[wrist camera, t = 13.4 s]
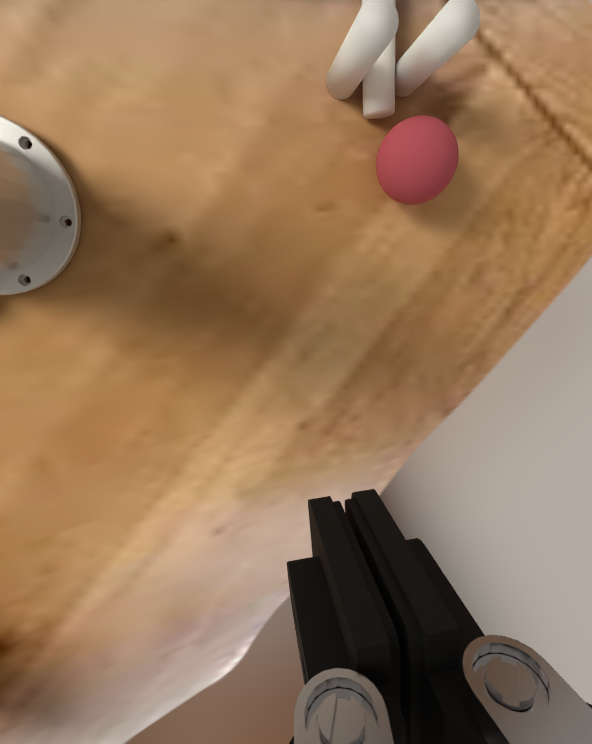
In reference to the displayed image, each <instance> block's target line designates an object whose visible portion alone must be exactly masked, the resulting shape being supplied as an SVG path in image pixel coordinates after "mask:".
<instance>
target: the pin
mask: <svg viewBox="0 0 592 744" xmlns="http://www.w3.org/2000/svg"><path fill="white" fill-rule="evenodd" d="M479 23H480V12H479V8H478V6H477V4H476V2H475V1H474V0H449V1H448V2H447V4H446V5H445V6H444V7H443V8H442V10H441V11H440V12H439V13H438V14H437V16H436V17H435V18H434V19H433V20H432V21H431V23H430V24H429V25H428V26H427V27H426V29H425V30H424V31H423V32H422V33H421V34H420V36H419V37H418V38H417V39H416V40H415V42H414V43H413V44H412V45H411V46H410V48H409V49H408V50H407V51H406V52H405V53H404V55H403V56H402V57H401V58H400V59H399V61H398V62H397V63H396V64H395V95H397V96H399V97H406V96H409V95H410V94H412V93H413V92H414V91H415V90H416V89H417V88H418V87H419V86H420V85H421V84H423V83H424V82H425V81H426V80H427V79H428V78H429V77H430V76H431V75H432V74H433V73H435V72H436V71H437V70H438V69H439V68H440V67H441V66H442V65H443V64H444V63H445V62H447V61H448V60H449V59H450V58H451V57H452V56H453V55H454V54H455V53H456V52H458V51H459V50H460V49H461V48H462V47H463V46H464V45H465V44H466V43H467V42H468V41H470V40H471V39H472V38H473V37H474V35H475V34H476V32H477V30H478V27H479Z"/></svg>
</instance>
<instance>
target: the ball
mask: <svg viewBox="0 0 592 744" xmlns="http://www.w3.org/2000/svg"><path fill="white" fill-rule="evenodd" d="M457 163H458V145H457V141H456V138H455V136H454V134H453V132H452V130H451V129H450V128H449V127H448V126H447V125H446V124H445V123H444V122H443V121H441V120H440V119H438V118H435V117H432V116H427V115H419V116H413V117H410V118H407V119H405V120H403V121H401V122H400V123H398V124H397V125H396V126H394V127H393V128H392V129H391V130H390V131H389V133H388V134H387V135H386V136H385V138H384V140H383V141H382V143H381V145H380V148H379V151H378V155H377V161H376V170H377V176H378V180H379V182H380V185H381V186H382V188H383V190H384V191H385V192H386V193H387V194H388V195H389V196H390V197H391V198H393V199H394V200H396V201H398V202H401V203H405V204H419V203H423V202H426V201H428V200H431V199H432V198H434V197H436V196H437V195H438V194H440V193H441V192H442V191H443V190H444V189H445V188H446V186H447V185H448V184H449V182H450V181H451V179H452V177H453V175H454V173H455V170H456V167H457Z"/></svg>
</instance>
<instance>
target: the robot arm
mask: <svg viewBox="0 0 592 744" xmlns="http://www.w3.org/2000/svg"><path fill="white" fill-rule="evenodd" d="M29 143H32V147H31V149H29V148H28V144H29ZM69 219H70V220H71V221H72V225H71V226H68V224H67V220H69ZM80 232H81V210H80V205H79V200H78V195H77V193H76V190H75V188H74V185H73V182H72V180H71V178H70V176H69V174H68V173H67V171H66V169H65V168H64V166H63V164H62V163H61V161H60V160H59V159H58V158H57V157H56V155H55V154H54V153H53V152H52V151H51V150H50V148H49V147H48V146H47V145H45V144H44V143H43V142H42V141H41V140H40V139H39V138H37V137H36V136H35V135H34V134H32V133H31V132H29V131H28V130H26V129H25V128H23V127H22V126H20V125H18V124H16V123H15V122H13V121H11V120H9V119H7V118H5V117H3V116H1V115H0V295H13V294H19V293H25V292H28V291H31V290H34V289H37V288H40V287H42V286H43V285H45V284H47V283H49V282H50V281H52V280H53V279H54V278H56V277H57V276H58V275H59V274H60V273H61V272H62V271H63V270H64V269H65V268H66V266H67V265H68V263H69V262H70V261H71V259H72V258H73V255H74V253H75V251H76V248H77V246H78V242H79V237H80ZM28 276H29V277H30V280H31V282H30V283H29V282H28V281H27V277H28ZM308 508H309V519H310V531H311V542H312V553H313V557H311V558H305V559H300V560H294V561H289V562H287V570H288V579H289V588H290V596H291V603H292V610H293V617H294V623H295V630H296V636H297V642H298V648H299V653H300V660H301V666H302V671H303V677H304V684H305V686H304V687H303V689H302V691H301V693H300V695H299V697H298V699H297V702H296V708H295V715H294V736H293V738H292V740H291V741H290V743H289V744H592V705H590V704H588V703H586V702H585V701H584V700H583V699H582V698H581V697H580V696H579V695H578V694H577V693H576V692H575V691H574V690H573V689H572V688H571V687H570V685H569V684H567V682H566V681H565V680H564V679H563V678H562V677H561V676H560V675H559V674H558V673H557V672H556V671H555V670H554V669H553V668H552V667H551V665H550V664H549V663H547V661H546V660H545V659H544V658H542V657H541V656H540V655H539V654H538V653H537V652H536V651H534V650H533V649H532V648H530V647H528V646H527V645H525V644H523V643H521V642H519V641H518V640H514V639H512V638H509V637H506V636H498V635H487V636H485V635H484V634H483V632H482V631H481V629H480V628H479V626H478V625H477V623H476V622H475V620H474V619H473V617H472V616H471V614H470V613H469V611H468V610H467V608H466V607H465V606H464V604H463V602H462V601H461V599H460V598H459V596H458V595H457V593H456V592H455V590H454V589H453V587H452V586H451V584H450V583H449V581H448V580H447V578H446V577H445V575H444V574H443V572H442V571H441V569H440V567H439V566H438V564H437V563H436V561H435V560H434V559H433V557H432V555H431V554H430V552H429V551H428V549H427V548H426V546H425V545H424V544H423V542H422V541H421V540H420V539H418V538H415V539H410V540H405V538H404V536H403V535H402V533H401V531H400V530H399V528H398V526H397V525H396V523H395V522H394V520H393V518H392V517H391V515H390V513H389V512H388V510H387V509H386V507H385V505H384V503H383V502H382V500H381V499H380V497H379V495H378V494H377V492H376V491H375V490H374V489H371V490H365V491H359V492H353V493H352V496H351V499H347V500H345V512H344V509H343V507H342V505H341V503H340V501H335V502H333V501H332V499H331V497H330V496H328V497H322V498H316V499H310V500H308Z"/></svg>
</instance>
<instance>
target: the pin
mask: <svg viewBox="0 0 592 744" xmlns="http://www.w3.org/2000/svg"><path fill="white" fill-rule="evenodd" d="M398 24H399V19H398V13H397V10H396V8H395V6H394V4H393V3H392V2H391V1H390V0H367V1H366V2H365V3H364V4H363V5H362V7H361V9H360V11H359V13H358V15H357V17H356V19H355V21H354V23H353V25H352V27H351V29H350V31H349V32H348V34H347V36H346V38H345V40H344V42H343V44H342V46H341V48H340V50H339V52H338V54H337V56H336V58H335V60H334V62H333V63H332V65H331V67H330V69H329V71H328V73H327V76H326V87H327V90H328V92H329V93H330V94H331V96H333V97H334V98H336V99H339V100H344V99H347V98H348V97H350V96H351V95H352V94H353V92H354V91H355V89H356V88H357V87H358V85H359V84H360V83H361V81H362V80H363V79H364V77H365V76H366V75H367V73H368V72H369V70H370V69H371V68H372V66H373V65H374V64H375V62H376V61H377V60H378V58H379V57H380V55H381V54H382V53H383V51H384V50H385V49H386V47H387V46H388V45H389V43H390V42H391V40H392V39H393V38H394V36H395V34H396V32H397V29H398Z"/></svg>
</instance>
